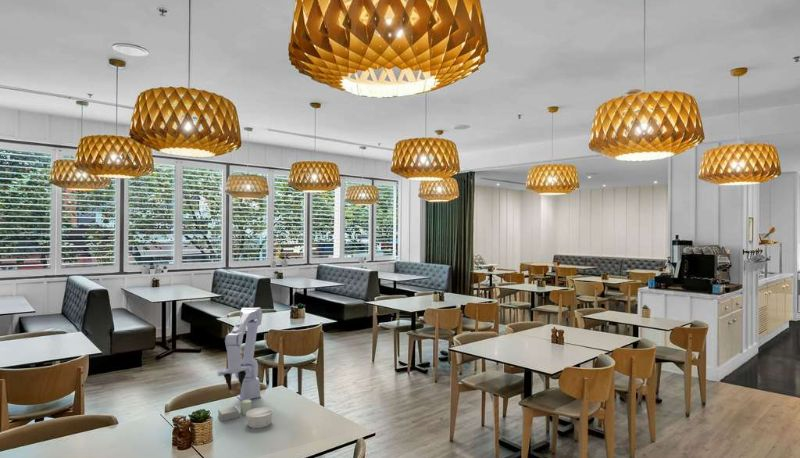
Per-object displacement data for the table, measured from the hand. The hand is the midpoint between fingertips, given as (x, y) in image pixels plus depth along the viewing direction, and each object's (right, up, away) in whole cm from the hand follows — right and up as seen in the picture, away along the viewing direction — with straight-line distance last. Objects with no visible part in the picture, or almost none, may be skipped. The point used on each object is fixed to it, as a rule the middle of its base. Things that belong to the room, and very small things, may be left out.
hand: (235, 388), depth 227 cm
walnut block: (0, -2, 0) cm, 2 cm away
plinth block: (0, -9, -9) cm, 13 cm away
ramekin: (+16, -9, -18) cm, 26 cm away
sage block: (+6, -9, -4) cm, 12 cm away
